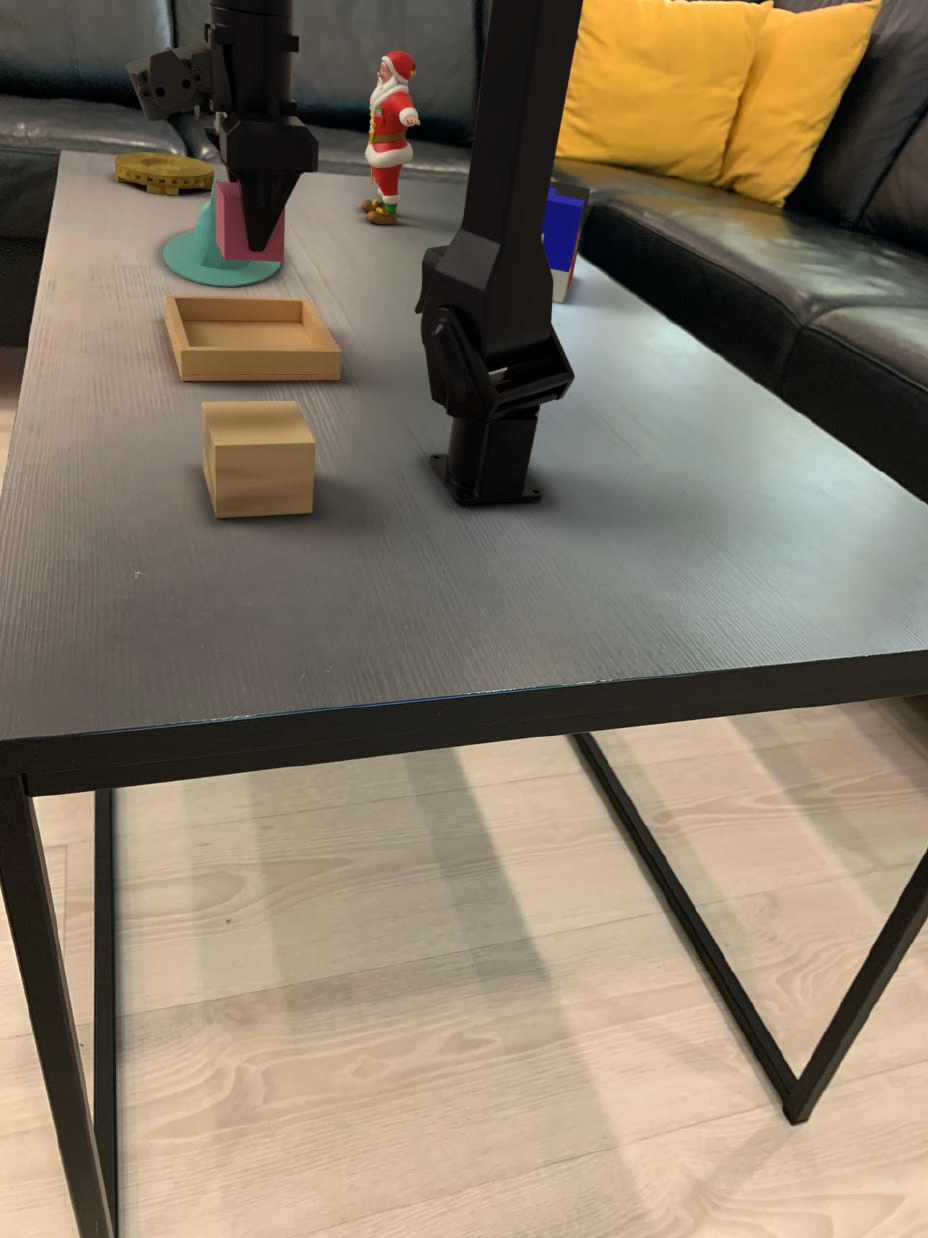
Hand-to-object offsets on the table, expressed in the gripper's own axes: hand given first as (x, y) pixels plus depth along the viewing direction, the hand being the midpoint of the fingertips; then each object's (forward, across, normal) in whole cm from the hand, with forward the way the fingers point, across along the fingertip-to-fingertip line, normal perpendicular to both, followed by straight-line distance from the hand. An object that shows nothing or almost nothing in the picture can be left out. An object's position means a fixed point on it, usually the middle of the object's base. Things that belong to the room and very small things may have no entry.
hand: (251, 241), depth 74 cm
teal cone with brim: (+9, -26, +2) cm, 28 cm away
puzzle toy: (+9, -21, +34) cm, 41 cm away
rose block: (+1, 0, 0) cm, 1 cm away
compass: (+9, -56, -2) cm, 57 cm away
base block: (+9, +24, -4) cm, 26 cm away
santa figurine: (+9, -45, +24) cm, 52 cm away
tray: (+9, 0, 0) cm, 9 cm away
